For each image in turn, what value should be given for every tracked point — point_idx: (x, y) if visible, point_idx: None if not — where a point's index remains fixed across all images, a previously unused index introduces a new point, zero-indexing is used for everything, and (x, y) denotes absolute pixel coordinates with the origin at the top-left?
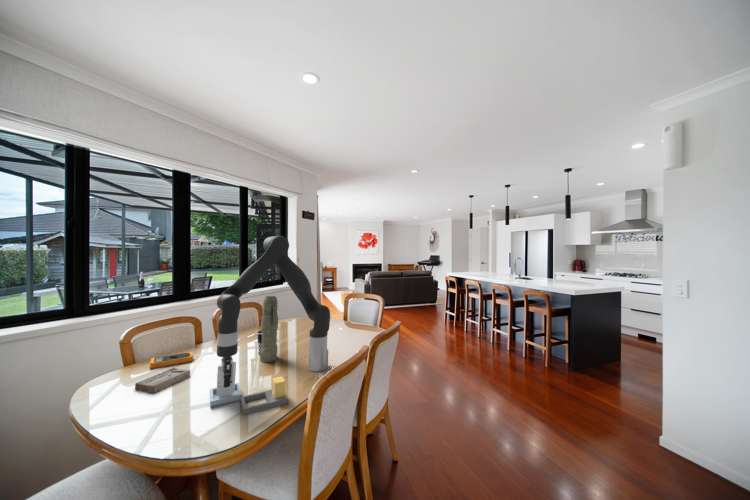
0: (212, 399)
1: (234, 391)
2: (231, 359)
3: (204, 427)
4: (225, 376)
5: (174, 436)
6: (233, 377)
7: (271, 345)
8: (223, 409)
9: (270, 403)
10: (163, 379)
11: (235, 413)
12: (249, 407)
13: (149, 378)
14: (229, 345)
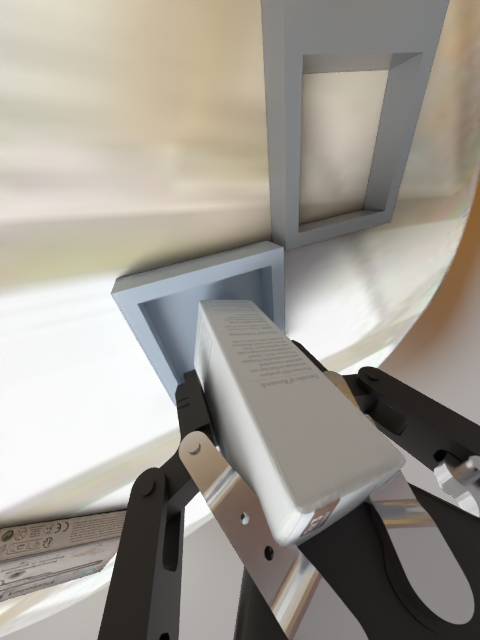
0: None
1: (173, 296)
2: (465, 609)
3: (356, 322)
4: (384, 403)
5: (349, 364)
6: (286, 353)
7: None
8: (299, 301)
9: (432, 41)
10: (66, 558)
11: (344, 253)
12: (395, 194)
13: (58, 581)
14: None
